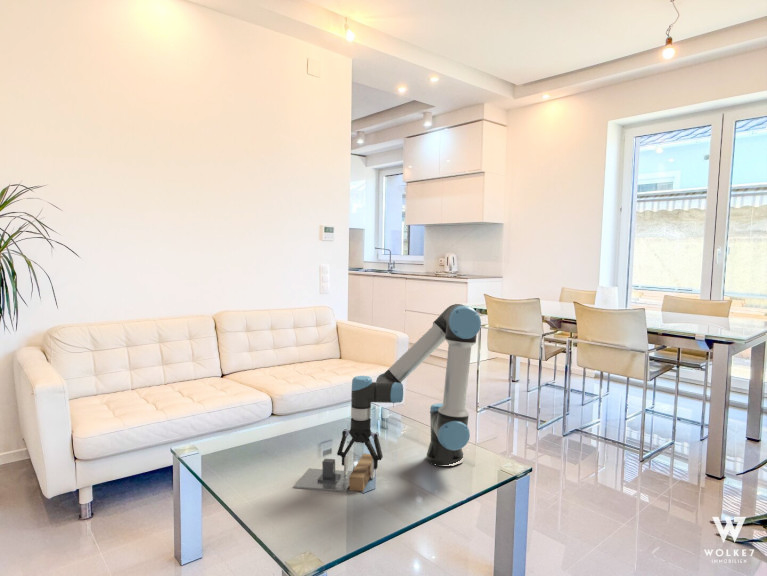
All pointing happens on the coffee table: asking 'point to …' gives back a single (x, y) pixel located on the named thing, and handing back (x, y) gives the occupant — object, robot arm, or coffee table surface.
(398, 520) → the coffee table surface
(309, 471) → the stand
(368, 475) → the walnut bar
